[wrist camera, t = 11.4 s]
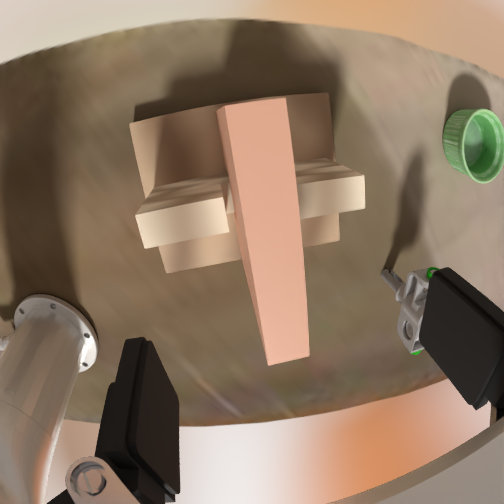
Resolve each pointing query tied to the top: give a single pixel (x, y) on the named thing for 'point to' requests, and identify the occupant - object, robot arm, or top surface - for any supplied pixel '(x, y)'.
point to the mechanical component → (410, 304)
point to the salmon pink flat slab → (268, 221)
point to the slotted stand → (218, 186)
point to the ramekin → (475, 143)
